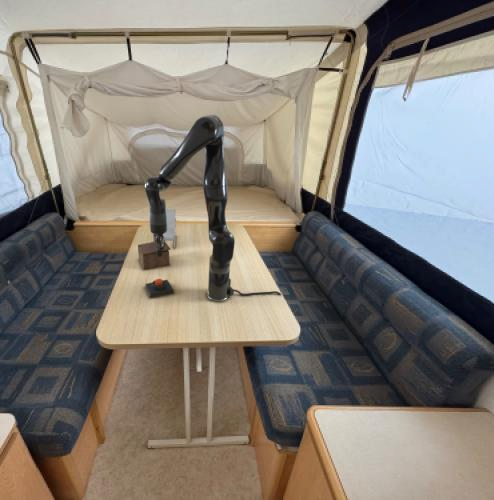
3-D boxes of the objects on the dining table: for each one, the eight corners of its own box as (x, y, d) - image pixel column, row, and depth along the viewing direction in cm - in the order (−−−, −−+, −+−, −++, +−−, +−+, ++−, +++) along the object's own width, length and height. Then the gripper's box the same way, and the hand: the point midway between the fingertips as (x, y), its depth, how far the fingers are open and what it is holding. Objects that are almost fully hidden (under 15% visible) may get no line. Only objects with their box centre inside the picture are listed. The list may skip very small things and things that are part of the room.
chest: (162, 256, 160) (162, 242, 156) (169, 265, 149) (169, 251, 145) (138, 259, 154) (137, 246, 151) (143, 270, 144) (142, 255, 140)
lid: (163, 241, 156) (163, 233, 153) (170, 249, 145) (169, 241, 143) (137, 246, 151) (136, 238, 148) (142, 255, 140) (141, 246, 138)
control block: (167, 283, 132) (167, 276, 131) (173, 293, 125) (173, 285, 123) (145, 287, 128) (145, 280, 127) (150, 297, 121) (149, 290, 119)
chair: (176, 235, 190) (175, 208, 182) (174, 249, 167) (174, 220, 159) (157, 234, 190) (156, 208, 181) (153, 249, 167) (151, 220, 159)
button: (161, 281, 127) (161, 278, 126) (163, 285, 124) (163, 281, 123) (154, 282, 126) (154, 279, 125) (156, 286, 123) (156, 283, 122)
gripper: (170, 225, 114) (171, 261, 122) (162, 216, 126) (163, 249, 133) (153, 227, 112) (155, 263, 119) (146, 218, 123) (148, 251, 130)
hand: (159, 256), depth 126 cm, fingers closed
